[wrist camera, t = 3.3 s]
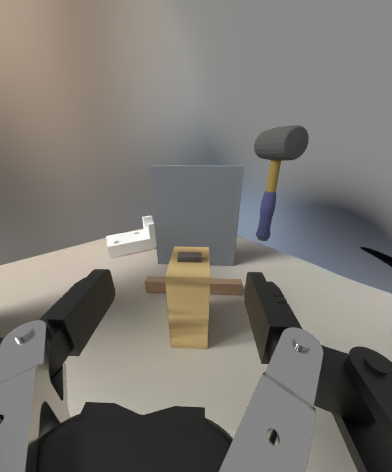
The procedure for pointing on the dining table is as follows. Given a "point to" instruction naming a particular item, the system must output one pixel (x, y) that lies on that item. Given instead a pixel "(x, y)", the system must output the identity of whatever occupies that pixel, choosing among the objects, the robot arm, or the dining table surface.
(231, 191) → the wall board
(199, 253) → the ochre block
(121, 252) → the bracket
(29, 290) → the dining table surface
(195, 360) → the dining table surface
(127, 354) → the dining table surface
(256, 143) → the rubber mallet
